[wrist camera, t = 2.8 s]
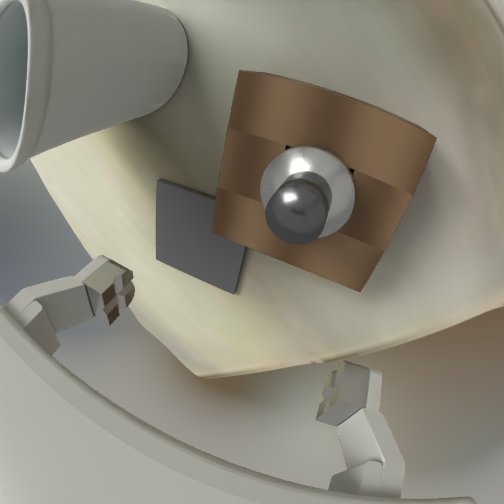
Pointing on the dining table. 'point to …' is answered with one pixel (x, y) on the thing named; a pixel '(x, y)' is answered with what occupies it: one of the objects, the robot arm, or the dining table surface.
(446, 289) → the dining table surface
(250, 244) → the socket block
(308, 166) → the end cover
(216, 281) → the mat
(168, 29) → the utensil holder
